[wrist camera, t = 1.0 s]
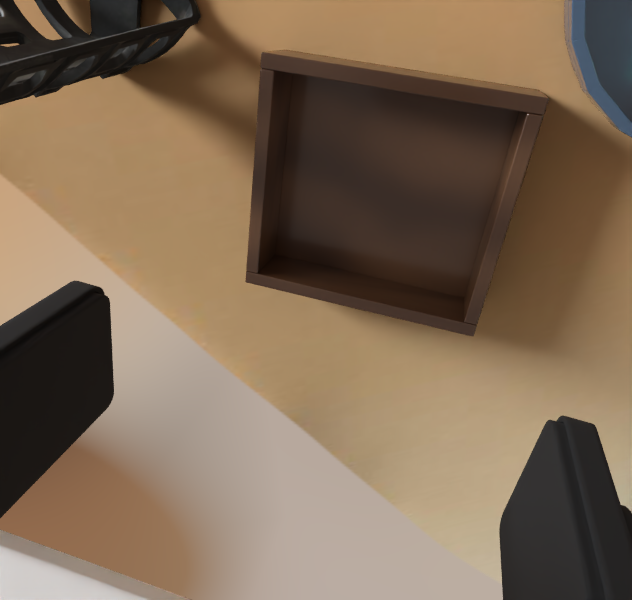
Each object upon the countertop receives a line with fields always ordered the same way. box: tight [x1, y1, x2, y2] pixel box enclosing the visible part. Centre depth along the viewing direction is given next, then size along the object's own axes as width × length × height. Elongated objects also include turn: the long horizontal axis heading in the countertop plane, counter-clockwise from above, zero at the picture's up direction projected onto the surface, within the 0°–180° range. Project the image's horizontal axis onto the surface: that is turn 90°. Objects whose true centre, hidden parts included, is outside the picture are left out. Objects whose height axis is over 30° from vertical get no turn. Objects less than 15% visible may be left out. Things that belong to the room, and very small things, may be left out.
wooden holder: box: [246, 50, 549, 336], centre depth 31 cm, size 14×15×4 cm
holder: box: [0, 0, 201, 105], centre depth 24 cm, size 11×8×20 cm
